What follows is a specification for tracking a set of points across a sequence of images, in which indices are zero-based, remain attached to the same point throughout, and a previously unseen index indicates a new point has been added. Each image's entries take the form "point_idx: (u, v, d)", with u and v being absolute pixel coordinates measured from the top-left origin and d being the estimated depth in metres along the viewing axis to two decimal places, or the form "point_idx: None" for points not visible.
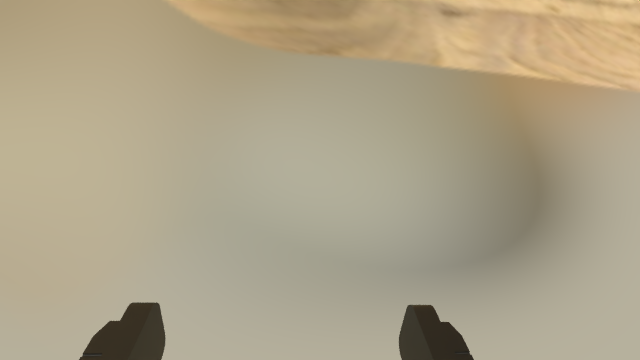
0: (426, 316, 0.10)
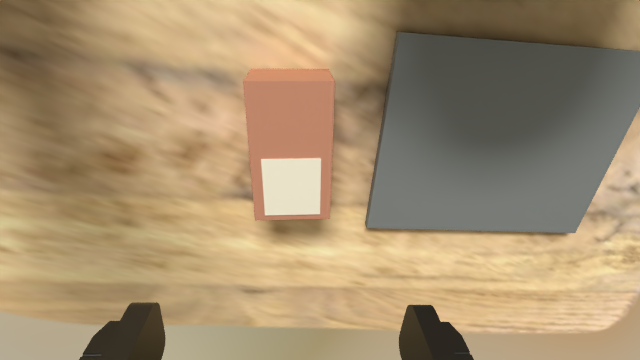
0: (426, 316, 0.10)
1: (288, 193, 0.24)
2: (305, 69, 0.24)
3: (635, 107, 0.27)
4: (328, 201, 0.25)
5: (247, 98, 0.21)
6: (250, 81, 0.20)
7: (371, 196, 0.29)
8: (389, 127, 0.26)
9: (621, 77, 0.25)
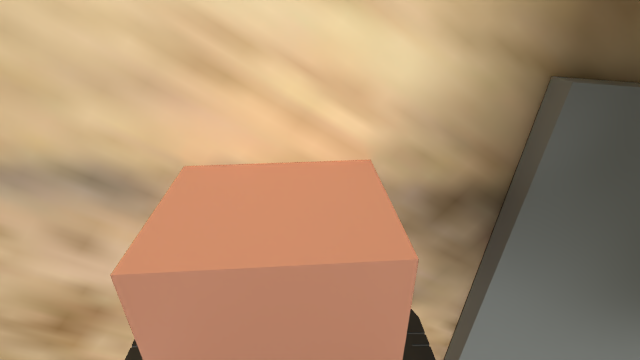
0: None
1: None
2: (316, 167, 0.10)
3: None
4: None
5: (135, 316, 0.06)
6: (136, 273, 0.06)
7: None
8: (503, 279, 0.12)
9: None
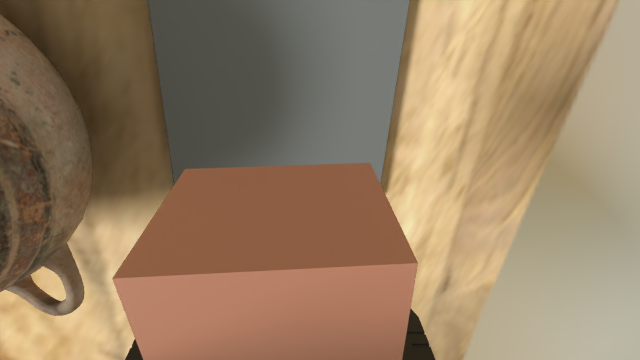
0: None
1: None
2: (316, 170, 0.10)
3: None
4: None
5: (137, 319, 0.07)
6: (138, 276, 0.06)
7: None
8: None
9: None
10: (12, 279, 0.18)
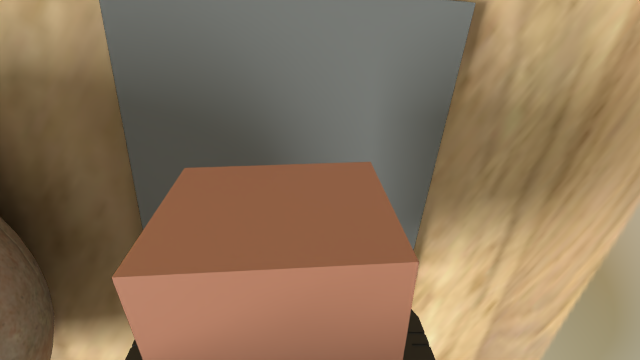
0: None
1: None
2: (316, 169, 0.10)
3: None
4: None
5: (136, 318, 0.06)
6: (138, 275, 0.06)
7: None
8: None
9: (151, 42, 0.15)
10: None
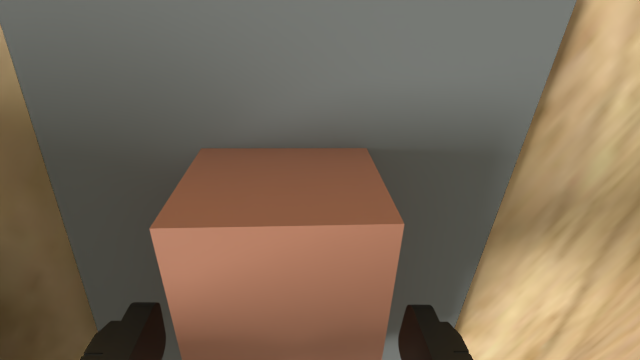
0: (425, 316, 0.10)
1: None
2: (318, 153, 0.11)
3: None
4: None
5: (166, 266, 0.08)
6: (170, 228, 0.07)
7: None
8: None
9: (80, 60, 0.10)
10: None
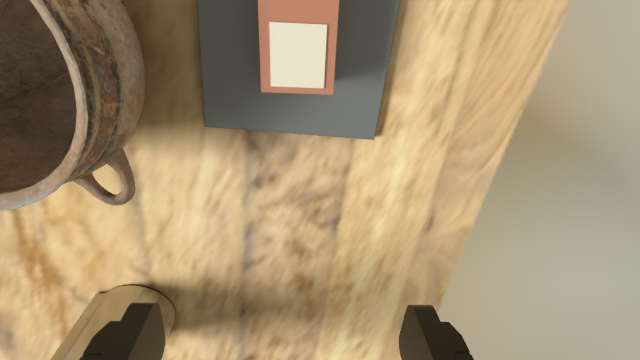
0: (426, 316, 0.10)
1: (294, 62, 0.25)
2: None
3: None
4: (332, 75, 0.26)
5: None
6: None
7: None
8: (277, 127, 0.32)
9: None
10: (86, 166, 0.23)
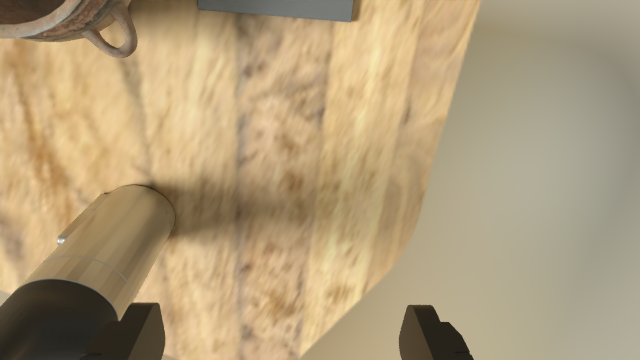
0: (426, 316, 0.10)
1: None
2: None
3: None
4: None
5: None
6: None
7: (322, 19, 0.37)
8: (263, 10, 0.36)
9: None
10: (95, 7, 0.27)
